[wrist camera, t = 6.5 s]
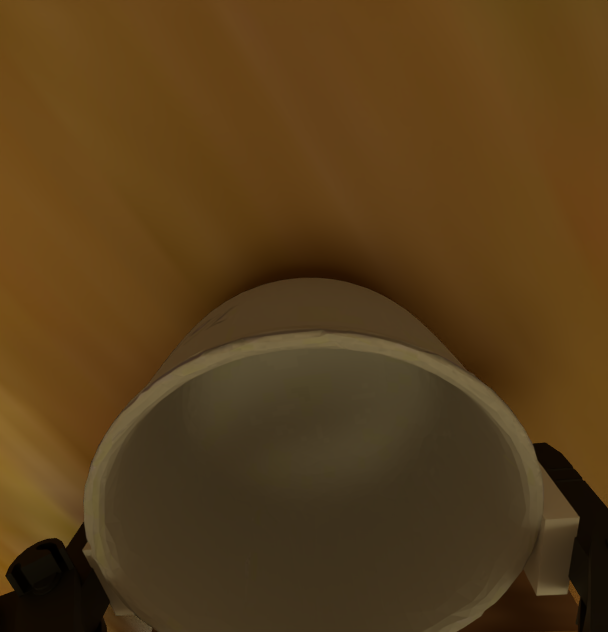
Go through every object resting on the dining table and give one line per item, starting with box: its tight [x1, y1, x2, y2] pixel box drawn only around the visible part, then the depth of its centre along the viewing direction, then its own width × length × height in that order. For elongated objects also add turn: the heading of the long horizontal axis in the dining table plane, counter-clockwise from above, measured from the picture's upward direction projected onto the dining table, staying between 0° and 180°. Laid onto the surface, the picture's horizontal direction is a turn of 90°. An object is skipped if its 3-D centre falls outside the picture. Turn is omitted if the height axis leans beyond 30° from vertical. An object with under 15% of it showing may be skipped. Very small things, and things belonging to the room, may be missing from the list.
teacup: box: [83, 278, 544, 632], centre depth 13 cm, size 14×11×8 cm
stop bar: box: [152, 570, 578, 632], centre depth 20 cm, size 22×3×3 cm, turn 98°
